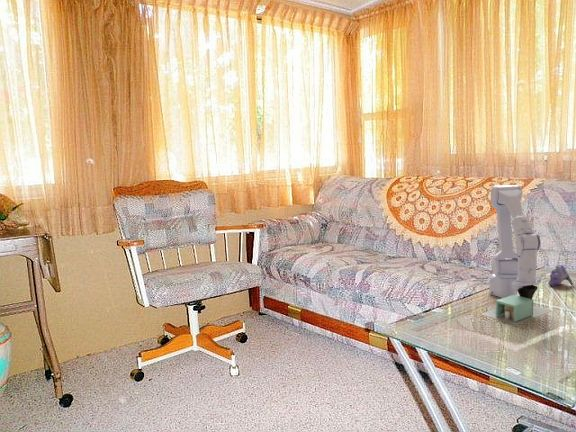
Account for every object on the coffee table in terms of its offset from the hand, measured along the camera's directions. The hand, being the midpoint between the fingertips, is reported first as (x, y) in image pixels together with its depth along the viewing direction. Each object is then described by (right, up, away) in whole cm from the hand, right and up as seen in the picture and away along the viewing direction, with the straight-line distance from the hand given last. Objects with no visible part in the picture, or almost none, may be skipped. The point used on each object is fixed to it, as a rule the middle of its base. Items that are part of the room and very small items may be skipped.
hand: (525, 305), depth 163 cm
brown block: (-6, -3, -4) cm, 8 cm away
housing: (-6, -3, -3) cm, 7 cm away
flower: (+30, +2, +32) cm, 44 cm away
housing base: (-3, -4, 0) cm, 5 cm away
